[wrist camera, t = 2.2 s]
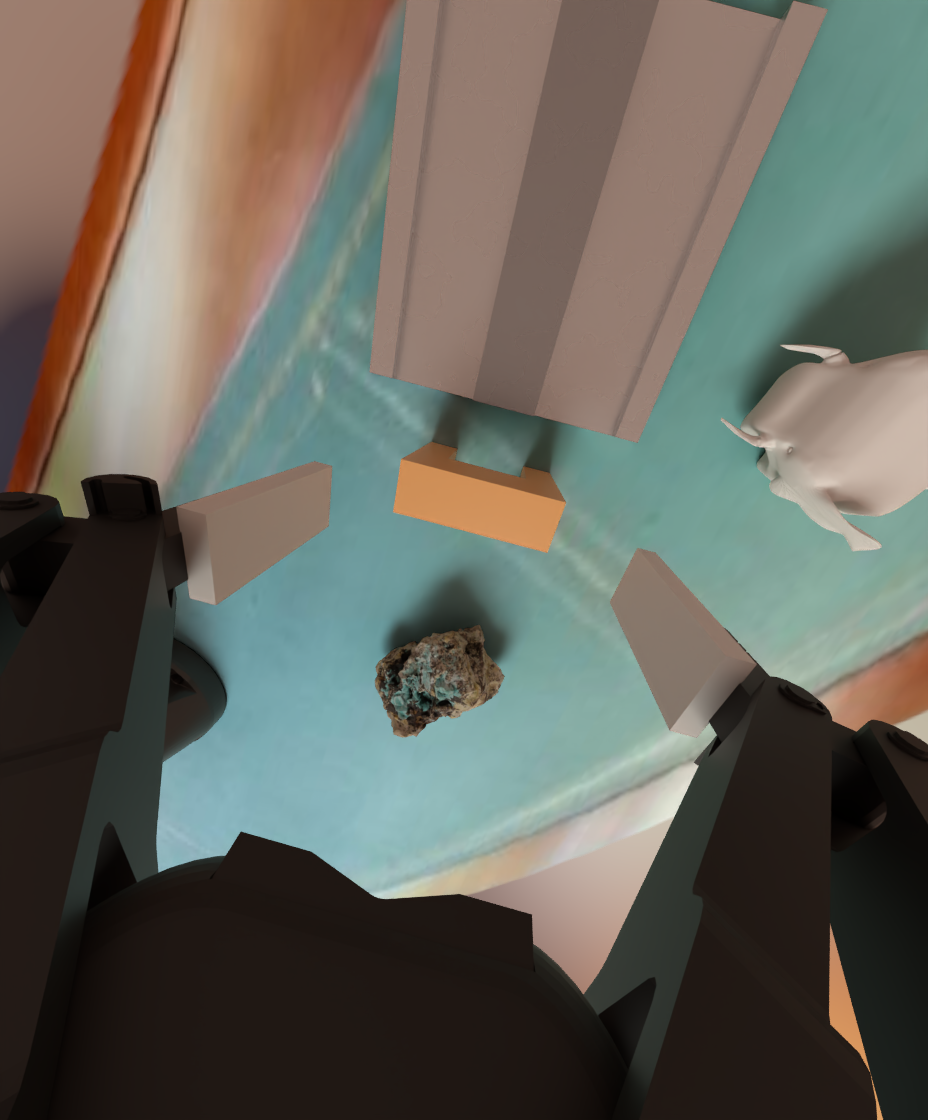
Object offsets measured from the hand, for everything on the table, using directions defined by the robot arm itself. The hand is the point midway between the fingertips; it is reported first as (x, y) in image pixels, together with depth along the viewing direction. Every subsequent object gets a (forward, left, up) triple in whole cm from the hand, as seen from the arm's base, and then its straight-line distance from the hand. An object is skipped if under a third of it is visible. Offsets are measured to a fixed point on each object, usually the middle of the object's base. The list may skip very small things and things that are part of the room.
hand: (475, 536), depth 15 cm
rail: (0, +14, -13) cm, 19 cm away
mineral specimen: (0, -19, -13) cm, 23 cm away
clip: (0, 0, -13) cm, 13 cm away
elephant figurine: (+19, +8, -13) cm, 24 cm away
